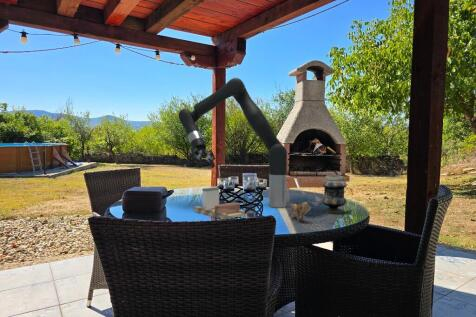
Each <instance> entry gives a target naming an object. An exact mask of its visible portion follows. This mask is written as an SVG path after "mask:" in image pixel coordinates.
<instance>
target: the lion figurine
mask: <svg viewBox="0 0 476 317" xmlns="http://www.w3.org/2000/svg"><path fill="white" fill-rule="evenodd" d="M311 208H312V207H311V206H310V205H309V204H308V202H307V201H302V202H300V203H299V204H296V203H292V204H291V206H290V213H289V214H288V216H290V219H291V220H293V218H296V222H297V223H300V221H301V222H305V220H304V216H305V215H306V214H307V213H308V212H310V210H311ZM300 216H301V218H300Z"/></svg>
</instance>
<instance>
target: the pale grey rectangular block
mask: <svg viewBox="0 0 476 317" xmlns="http://www.w3.org/2000/svg"><path fill="white" fill-rule="evenodd" d="M201 191H202V207H203V208H206V209H213V208H215V205H220V187H216V186H213V187H205V188H201Z"/></svg>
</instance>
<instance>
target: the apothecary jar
mask: <svg viewBox="0 0 476 317" xmlns="http://www.w3.org/2000/svg"><path fill="white" fill-rule="evenodd" d="M321 186H323V187H324V190H323V192H324V193H323V196H322V197H321V199H320V200H321V203H322V204H323V205H325V206H327V208H324V209H323V210H322V211H323V212H324V213H326V214H337V215H338V214H344V213H345V212H344V210H342V209H341V208H339V207H343V206H345V205H346V204H347V199H346V198H345V188H346V187H347V186H348V183H347V182H346V180H344V176H342V175H335V174H334V175H333V174H330V175H329V174H328V175H326V176H325V179H324V180H323V181H322V183H321Z"/></svg>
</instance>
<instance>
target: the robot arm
mask: <svg viewBox="0 0 476 317" xmlns="http://www.w3.org/2000/svg"><path fill="white" fill-rule="evenodd" d="M230 97H232V98H233V99H234V100H235V101H236V102H237V104H238V105H239V106H240V109H241V110H242V113H243V115H244V117H245V119H246V121H247V123H248V124H249V125H250V127H251V130H252V131H254V133H255V135H257V137H258V138H259V139H260V140H262V142H263V143H264V145H265V147H266V149H267V151H268V169H269V170H268V171H269V172H268V174H269V175H268V178H269V179H268V183H269V184H268V206H269V207H270V208H287V172H288V170H287V168H288V165H287V164H288V163H287V162H288V157H287V156H288V154H287V153H288V152H287V149H286V147H285V146H284V145H283V143H282V142H281V141H280V140H279V139H278V137H277V136H276V134H275V132H274V130H273V129H272V126H271V124H270V123H269V121H268V120H267V117H266V116H265V115H264V113H263V111H262V109H261V108H260V107H259V106H258V105H257V103H256V102H254V101H253V99H252V98H251V96H250V94H249V92H248V90H247V88H246V86H245V83H244V82H243V81H242V79H240V78H238V77H233V78H231V79H229V81H227V82H226V83H225V84H224V85H222V86H221V87H220V88H219V89H217V90H216V91H215V92H213V93H212V94H210V95H209V96H207V97H205V98H203V99H202V100H200V101H199V102H197V103H196V104H194V105H193V110H192V111H190V110H189V109H187V108H182V109H180V110H179V112H178V120H179V122H180V124H181V125H182V127H183V128H184V130H185V133H186V135H187V140H188V142H189V144H190V146H191V149H189V151H188V153H189V156H190V159H191V161H193V162H195V163H196V166H197V167H198V169H200V168H202V167H203V163H202V162H201V159H204V160H206V161H208V162H209V166H210V168H211V169H214V168H215V167H216V164H215V160H216V156H215V154H214V153H213V150H212V149H210V150H207V144H206V142H205V140H204V137H203V135H202V133H201V131H200V129H199V126H198V125H197V123H196V122H197V121H198V120H199V119H201V117H203V115H205V114H207V113H209V112H210V111H212V110H214V108H216V107H217V106H218V105H219V104H221V103H222V102H223V101H225V100H227V99H228V98H230Z"/></svg>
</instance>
